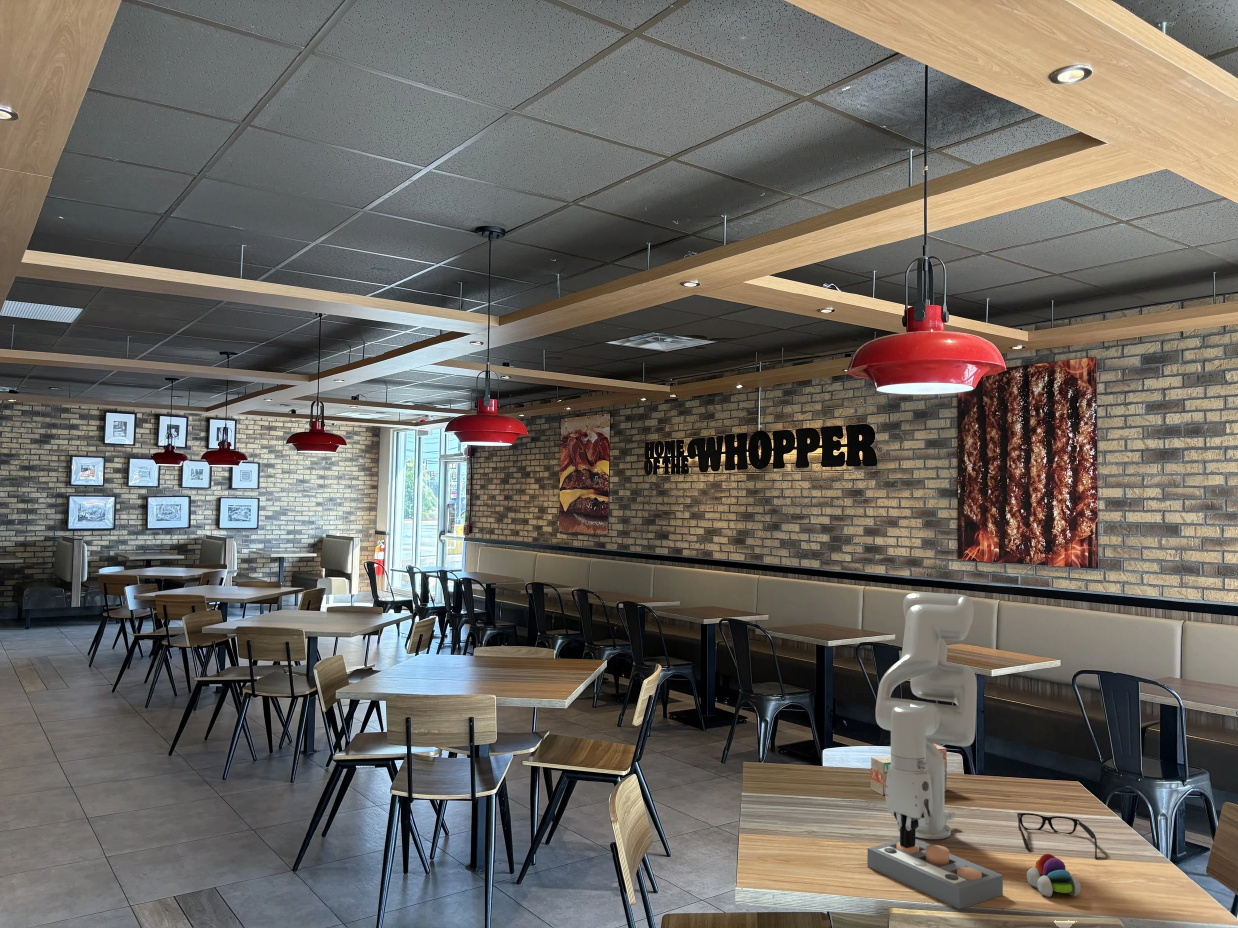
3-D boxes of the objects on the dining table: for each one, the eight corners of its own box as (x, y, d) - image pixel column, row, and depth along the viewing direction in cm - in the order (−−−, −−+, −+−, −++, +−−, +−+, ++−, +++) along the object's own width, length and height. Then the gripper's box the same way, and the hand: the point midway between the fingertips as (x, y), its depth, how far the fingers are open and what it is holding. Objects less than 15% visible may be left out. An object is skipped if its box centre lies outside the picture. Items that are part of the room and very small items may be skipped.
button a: (906, 853, 199) (906, 840, 199) (923, 861, 195) (923, 847, 195) (891, 857, 197) (891, 843, 197) (909, 865, 192) (909, 851, 193)
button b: (935, 857, 192) (935, 843, 193) (954, 865, 188) (954, 850, 188) (920, 861, 190) (920, 847, 190) (939, 869, 186) (939, 854, 186)
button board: (909, 854, 202) (909, 835, 202) (1002, 894, 182) (1002, 872, 182) (867, 866, 195) (867, 846, 195) (959, 909, 174) (959, 886, 174)
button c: (966, 879, 185) (966, 865, 186) (986, 888, 181) (986, 873, 182) (952, 884, 183) (952, 869, 183) (971, 893, 179) (971, 877, 179)
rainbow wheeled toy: (1060, 881, 189) (1060, 847, 190) (1086, 901, 179) (1085, 865, 180) (1022, 881, 189) (1022, 847, 189) (1045, 901, 179) (1045, 865, 180)
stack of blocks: (882, 796, 245) (883, 751, 246) (870, 789, 251) (870, 745, 252) (947, 790, 251) (947, 747, 252) (933, 784, 257) (933, 741, 258)
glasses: (1082, 838, 219) (1082, 817, 219) (1101, 861, 202) (1101, 839, 202) (1011, 830, 223) (1011, 810, 224) (1024, 852, 206) (1023, 830, 207)
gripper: (946, 769, 193) (946, 854, 191) (893, 752, 205) (892, 832, 204) (924, 773, 189) (923, 860, 187) (871, 756, 201) (870, 837, 200)
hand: (907, 845), depth 196 cm, fingers closed
